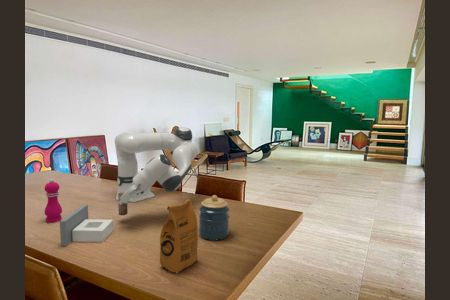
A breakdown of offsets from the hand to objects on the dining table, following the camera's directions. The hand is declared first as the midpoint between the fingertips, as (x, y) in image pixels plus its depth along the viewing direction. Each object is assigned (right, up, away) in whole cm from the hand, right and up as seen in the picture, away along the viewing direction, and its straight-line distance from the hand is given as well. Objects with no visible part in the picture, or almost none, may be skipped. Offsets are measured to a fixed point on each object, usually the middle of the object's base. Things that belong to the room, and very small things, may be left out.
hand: (121, 201), depth 138 cm
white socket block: (-6, -12, -15) cm, 20 cm away
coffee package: (+33, -15, -36) cm, 51 cm away
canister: (+44, -12, -11) cm, 47 cm away
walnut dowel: (0, -6, +1) cm, 6 cm away
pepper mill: (-32, -9, +1) cm, 34 cm away
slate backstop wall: (-14, -11, -15) cm, 23 cm away
